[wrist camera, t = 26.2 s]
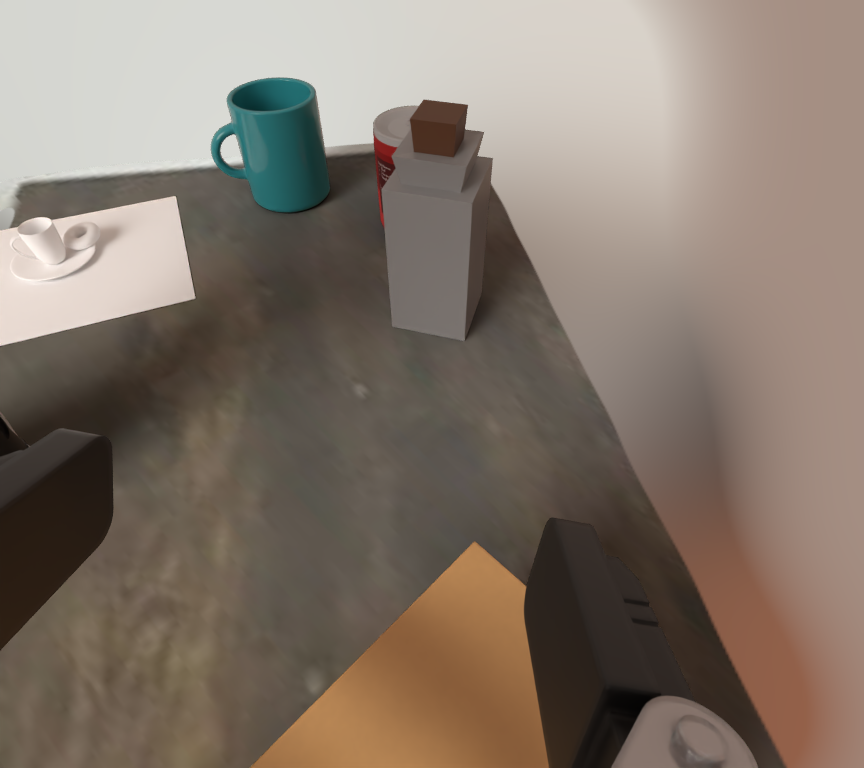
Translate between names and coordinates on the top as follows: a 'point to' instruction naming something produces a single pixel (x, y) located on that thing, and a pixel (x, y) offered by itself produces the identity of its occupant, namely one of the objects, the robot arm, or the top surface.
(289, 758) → the wooden shelf box
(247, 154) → the cup
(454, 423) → the top surface
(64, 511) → the robot arm
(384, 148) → the canned food
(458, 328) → the perfume bottle
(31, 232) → the teacup and saucer
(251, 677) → the top surface
